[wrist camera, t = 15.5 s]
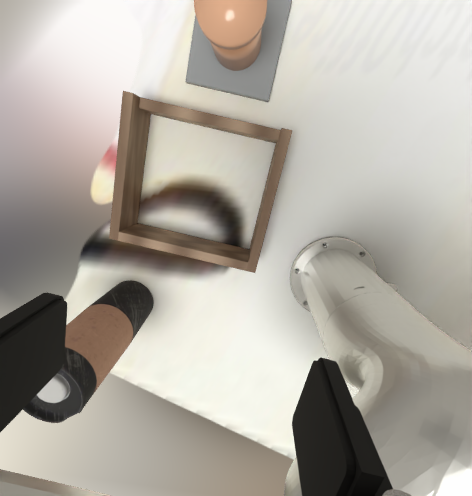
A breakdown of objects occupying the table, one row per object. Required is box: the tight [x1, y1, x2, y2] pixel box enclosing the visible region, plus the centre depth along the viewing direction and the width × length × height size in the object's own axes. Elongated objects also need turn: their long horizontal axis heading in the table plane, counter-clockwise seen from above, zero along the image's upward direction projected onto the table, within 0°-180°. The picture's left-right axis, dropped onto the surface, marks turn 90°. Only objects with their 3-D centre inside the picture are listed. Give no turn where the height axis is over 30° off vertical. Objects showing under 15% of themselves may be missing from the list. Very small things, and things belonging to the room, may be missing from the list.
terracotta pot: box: [194, 0, 267, 71], centre depth 30 cm, size 7×7×9 cm
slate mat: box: [186, 0, 292, 102], centre depth 35 cm, size 11×11×1 cm
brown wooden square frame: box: [109, 91, 292, 273], centre depth 38 cm, size 20×18×6 cm
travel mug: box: [23, 281, 153, 423], centre depth 37 cm, size 8×8×20 cm
